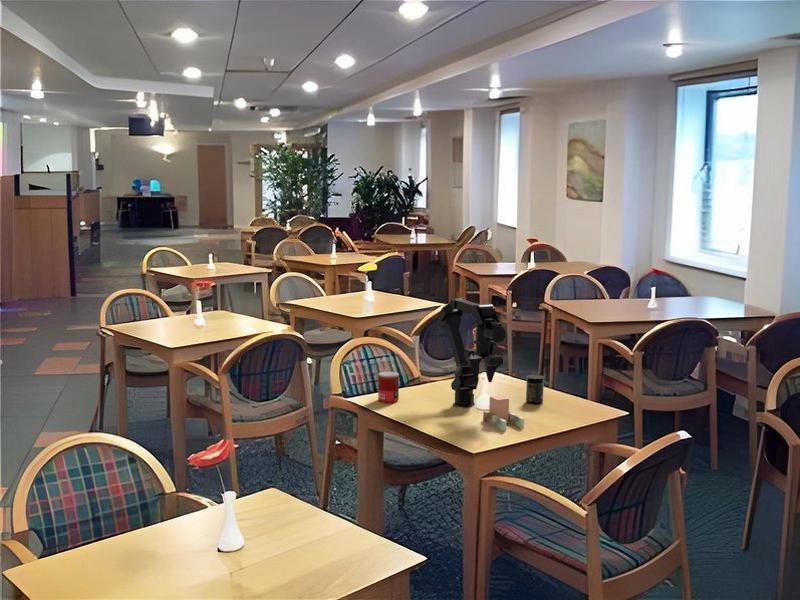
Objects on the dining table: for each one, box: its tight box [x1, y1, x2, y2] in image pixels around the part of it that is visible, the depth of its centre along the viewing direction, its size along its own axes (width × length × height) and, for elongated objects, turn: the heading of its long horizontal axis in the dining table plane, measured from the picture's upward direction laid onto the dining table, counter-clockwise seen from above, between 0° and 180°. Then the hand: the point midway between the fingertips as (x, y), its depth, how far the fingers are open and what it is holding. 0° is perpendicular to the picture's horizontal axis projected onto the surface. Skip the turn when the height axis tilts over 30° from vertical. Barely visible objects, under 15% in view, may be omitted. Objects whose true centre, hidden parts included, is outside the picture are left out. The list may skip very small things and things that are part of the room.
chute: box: [482, 410, 525, 432], centre depth 301 cm, size 13×9×4 cm
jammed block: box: [488, 394, 510, 424], centre depth 303 cm, size 5×5×9 cm
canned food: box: [377, 370, 400, 404], centre depth 329 cm, size 8×8×11 cm
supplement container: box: [525, 374, 545, 406], centre depth 329 cm, size 7×7×10 cm
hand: (483, 379), depth 312 cm, fingers open, 9 cm apart
